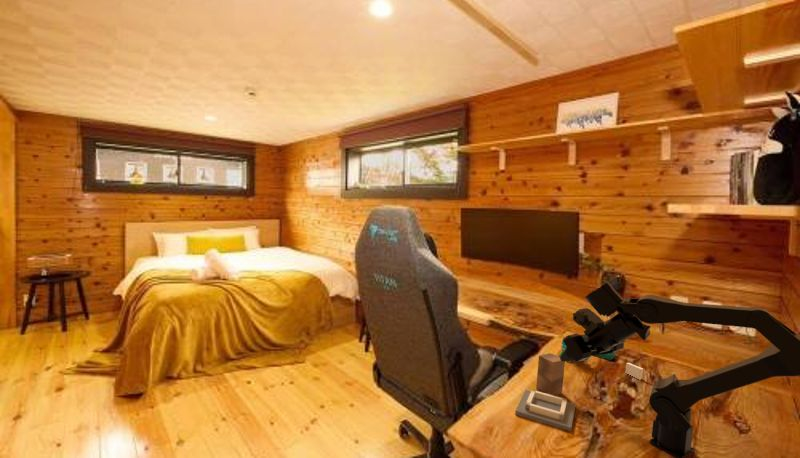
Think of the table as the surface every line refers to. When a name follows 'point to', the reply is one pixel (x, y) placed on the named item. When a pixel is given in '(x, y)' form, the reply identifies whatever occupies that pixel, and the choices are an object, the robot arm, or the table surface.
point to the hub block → (550, 374)
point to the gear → (564, 349)
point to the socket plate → (546, 409)
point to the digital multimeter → (607, 356)
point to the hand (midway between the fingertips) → (571, 356)
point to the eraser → (634, 371)
